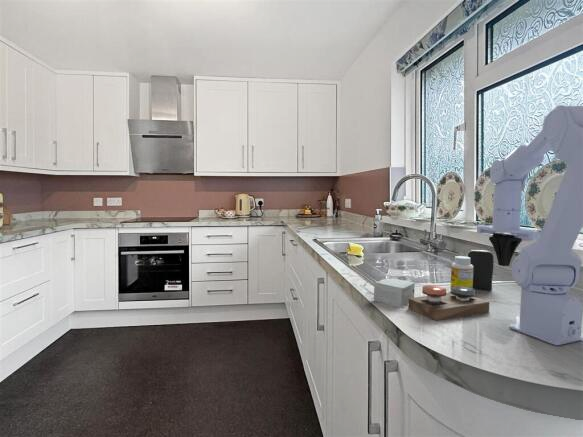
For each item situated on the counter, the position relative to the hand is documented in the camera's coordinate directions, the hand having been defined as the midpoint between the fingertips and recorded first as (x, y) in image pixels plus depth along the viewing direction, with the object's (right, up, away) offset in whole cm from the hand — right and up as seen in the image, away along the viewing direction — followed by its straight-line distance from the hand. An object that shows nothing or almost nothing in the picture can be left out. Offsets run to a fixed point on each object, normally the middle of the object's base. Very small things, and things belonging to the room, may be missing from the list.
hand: (503, 265), depth 85 cm
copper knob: (-19, -9, -4) cm, 21 cm away
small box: (-25, -10, +6) cm, 28 cm away
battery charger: (+4, -9, +18) cm, 21 cm away
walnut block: (-14, -11, -2) cm, 18 cm away
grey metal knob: (-10, -10, 0) cm, 14 cm away
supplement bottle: (-4, -10, +13) cm, 17 cm away
